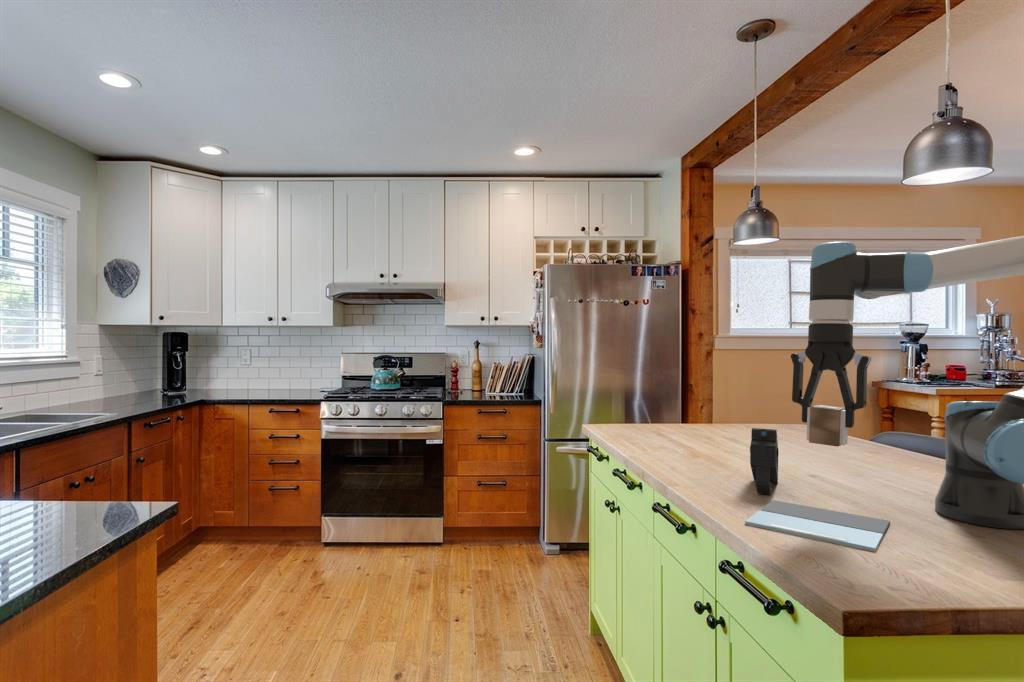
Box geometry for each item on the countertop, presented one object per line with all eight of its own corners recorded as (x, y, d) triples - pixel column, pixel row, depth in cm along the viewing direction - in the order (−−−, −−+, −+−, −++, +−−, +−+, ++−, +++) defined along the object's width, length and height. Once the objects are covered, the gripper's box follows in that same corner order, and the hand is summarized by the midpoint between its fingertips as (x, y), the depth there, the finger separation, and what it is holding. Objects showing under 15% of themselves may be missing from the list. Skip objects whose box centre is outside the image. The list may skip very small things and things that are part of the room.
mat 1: (890, 523, 105) (890, 520, 105) (883, 536, 98) (883, 533, 98) (773, 502, 118) (773, 500, 118) (760, 512, 112) (760, 509, 112)
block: (844, 443, 106) (845, 407, 106) (838, 446, 103) (839, 409, 103) (816, 439, 110) (817, 404, 110) (808, 442, 106) (810, 406, 106)
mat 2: (883, 537, 97) (883, 533, 97) (875, 551, 91) (875, 547, 91) (759, 513, 111) (759, 509, 111) (745, 524, 104) (745, 520, 104)
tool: (747, 484, 123) (749, 422, 129) (752, 506, 137) (754, 450, 144) (777, 487, 120) (777, 424, 127) (779, 510, 135) (780, 452, 141)
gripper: (889, 323, 102) (885, 446, 103) (787, 323, 115) (783, 433, 115) (881, 322, 97) (877, 452, 97) (775, 322, 109) (771, 437, 110)
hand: (826, 441), depth 106 cm, fingers closed on block, 5 cm apart
